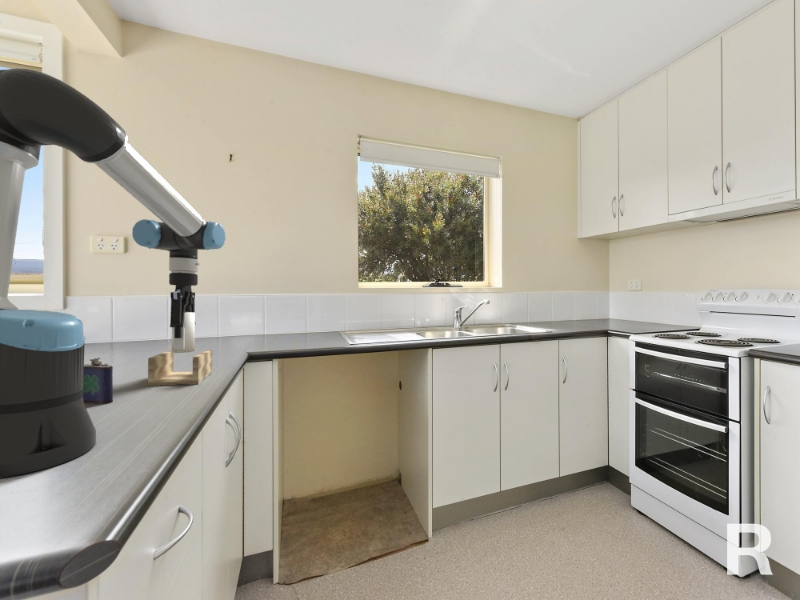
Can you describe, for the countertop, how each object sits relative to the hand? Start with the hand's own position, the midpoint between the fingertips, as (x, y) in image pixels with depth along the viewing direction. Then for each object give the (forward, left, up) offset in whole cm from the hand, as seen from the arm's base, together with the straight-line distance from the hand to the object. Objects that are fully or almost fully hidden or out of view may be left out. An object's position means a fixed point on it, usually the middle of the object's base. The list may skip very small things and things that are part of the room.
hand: (183, 346), depth 107 cm
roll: (0, 0, -1) cm, 1 cm away
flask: (-21, +12, -10) cm, 26 cm away
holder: (0, 0, -10) cm, 10 cm away
